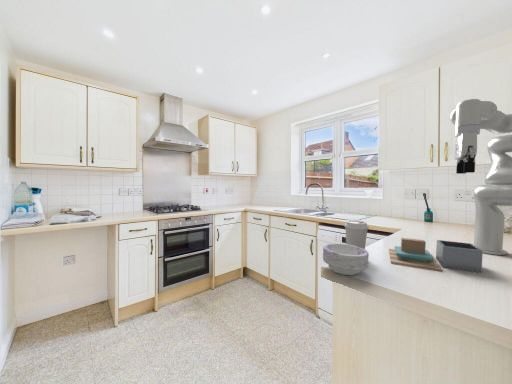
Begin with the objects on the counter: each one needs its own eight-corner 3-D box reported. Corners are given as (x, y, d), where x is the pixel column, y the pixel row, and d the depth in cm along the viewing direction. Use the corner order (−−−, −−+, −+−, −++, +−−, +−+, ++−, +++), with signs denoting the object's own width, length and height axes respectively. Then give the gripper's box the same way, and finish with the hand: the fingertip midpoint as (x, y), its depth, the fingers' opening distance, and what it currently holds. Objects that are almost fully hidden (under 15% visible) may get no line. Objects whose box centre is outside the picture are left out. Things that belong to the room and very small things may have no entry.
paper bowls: (378, 276, 76) (379, 253, 76) (340, 281, 72) (340, 257, 71) (347, 261, 91) (348, 241, 90) (314, 264, 86) (315, 244, 86)
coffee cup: (361, 262, 89) (362, 225, 89) (339, 256, 97) (340, 221, 96) (371, 257, 96) (372, 222, 95) (349, 251, 103) (350, 219, 102)
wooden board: (389, 250, 106) (389, 248, 106) (431, 255, 99) (431, 254, 99) (390, 263, 89) (390, 261, 89) (442, 271, 81) (442, 269, 81)
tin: (435, 258, 95) (436, 239, 95) (470, 263, 90) (471, 243, 89) (442, 266, 86) (443, 246, 85) (481, 272, 80) (482, 250, 80)
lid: (394, 251, 102) (395, 235, 102) (427, 255, 96) (428, 238, 96) (396, 259, 91) (397, 240, 91) (433, 264, 86) (434, 245, 85)
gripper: (449, 136, 102) (447, 173, 103) (461, 127, 87) (459, 172, 87) (471, 134, 98) (469, 173, 99) (488, 125, 83) (485, 171, 84)
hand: (464, 173), depth 93 cm, fingers open, 9 cm apart
